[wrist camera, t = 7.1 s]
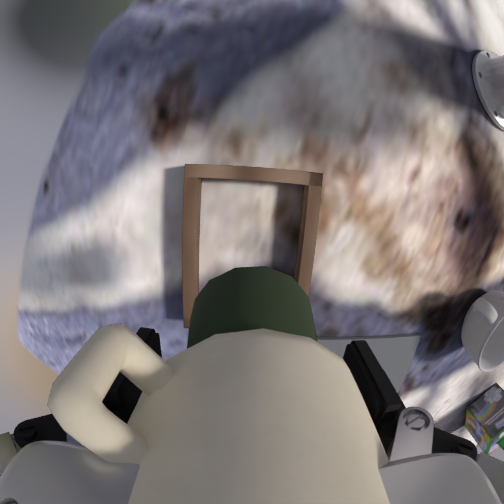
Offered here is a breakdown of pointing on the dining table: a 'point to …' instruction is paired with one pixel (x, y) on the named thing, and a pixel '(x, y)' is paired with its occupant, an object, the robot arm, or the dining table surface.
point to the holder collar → (200, 171)
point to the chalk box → (487, 419)
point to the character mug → (230, 404)
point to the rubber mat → (382, 352)
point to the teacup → (485, 331)
